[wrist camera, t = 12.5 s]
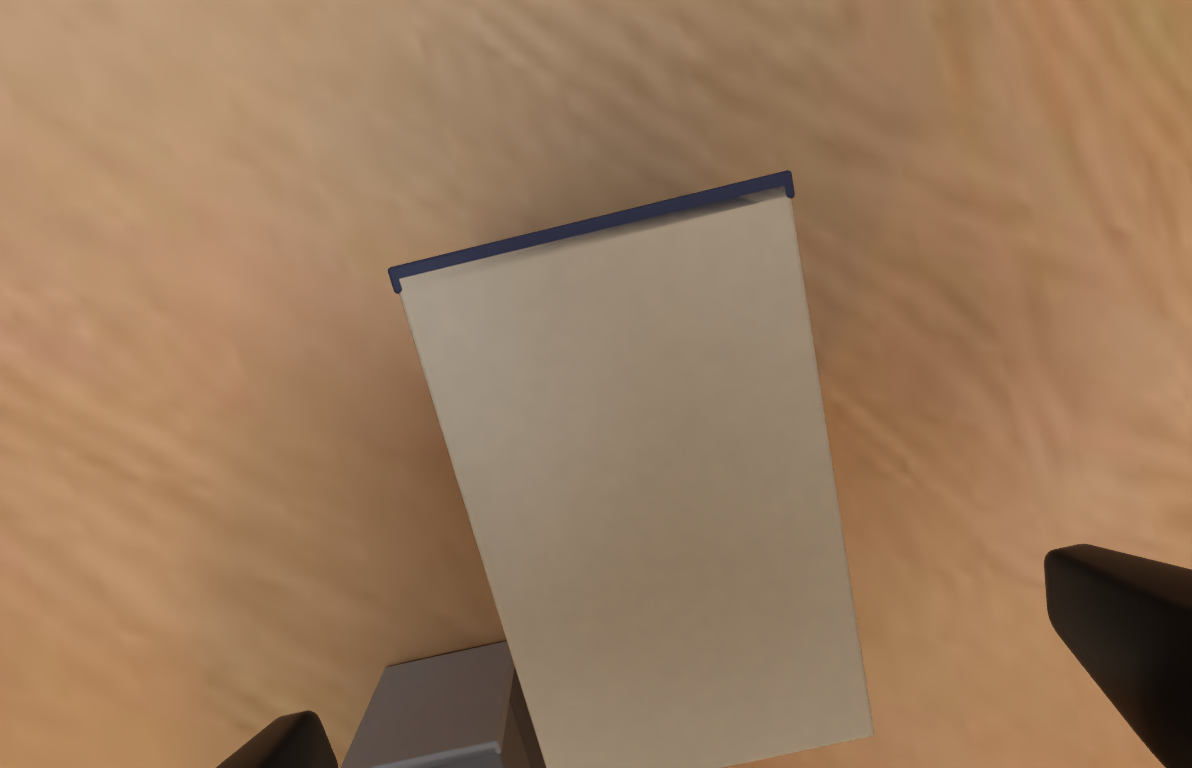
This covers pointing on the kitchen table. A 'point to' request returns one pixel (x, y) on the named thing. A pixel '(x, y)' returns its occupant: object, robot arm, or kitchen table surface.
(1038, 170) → the kitchen table surface
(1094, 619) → the robot arm
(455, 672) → the dark grey block
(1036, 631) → the kitchen table surface
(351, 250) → the kitchen table surface
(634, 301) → the cream book
